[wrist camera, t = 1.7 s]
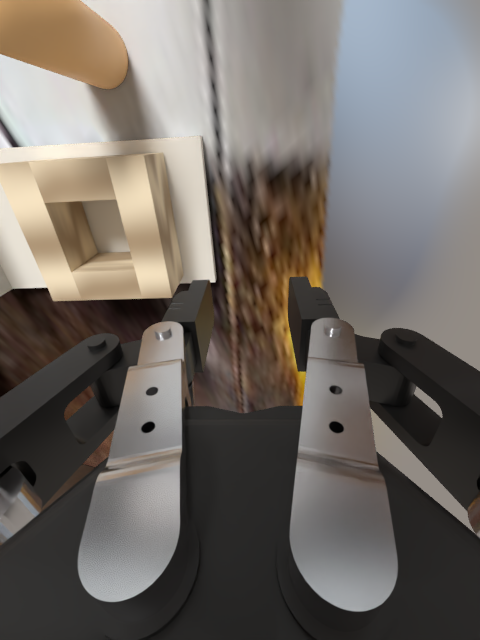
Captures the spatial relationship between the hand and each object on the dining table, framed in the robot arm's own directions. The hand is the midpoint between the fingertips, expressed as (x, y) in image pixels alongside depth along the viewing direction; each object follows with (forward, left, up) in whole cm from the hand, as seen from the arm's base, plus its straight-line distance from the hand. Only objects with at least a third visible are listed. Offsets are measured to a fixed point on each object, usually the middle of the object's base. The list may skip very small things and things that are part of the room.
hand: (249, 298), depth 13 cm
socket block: (0, -13, -16) cm, 20 cm away
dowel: (-12, -11, -17) cm, 24 cm away
